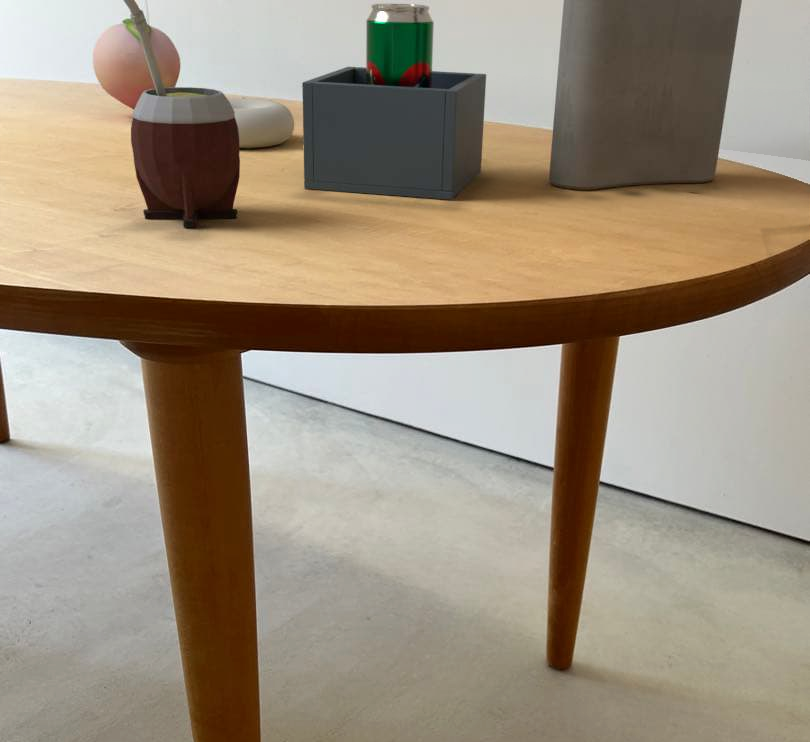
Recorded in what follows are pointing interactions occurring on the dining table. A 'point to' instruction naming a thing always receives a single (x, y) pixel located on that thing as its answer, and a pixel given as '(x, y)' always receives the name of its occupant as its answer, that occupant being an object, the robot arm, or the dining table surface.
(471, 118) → the bin
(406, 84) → the soda can
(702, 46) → the flask
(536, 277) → the dining table surface
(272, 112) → the donut
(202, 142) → the mate gourd
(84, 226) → the dining table surface
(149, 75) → the decorative fruit
